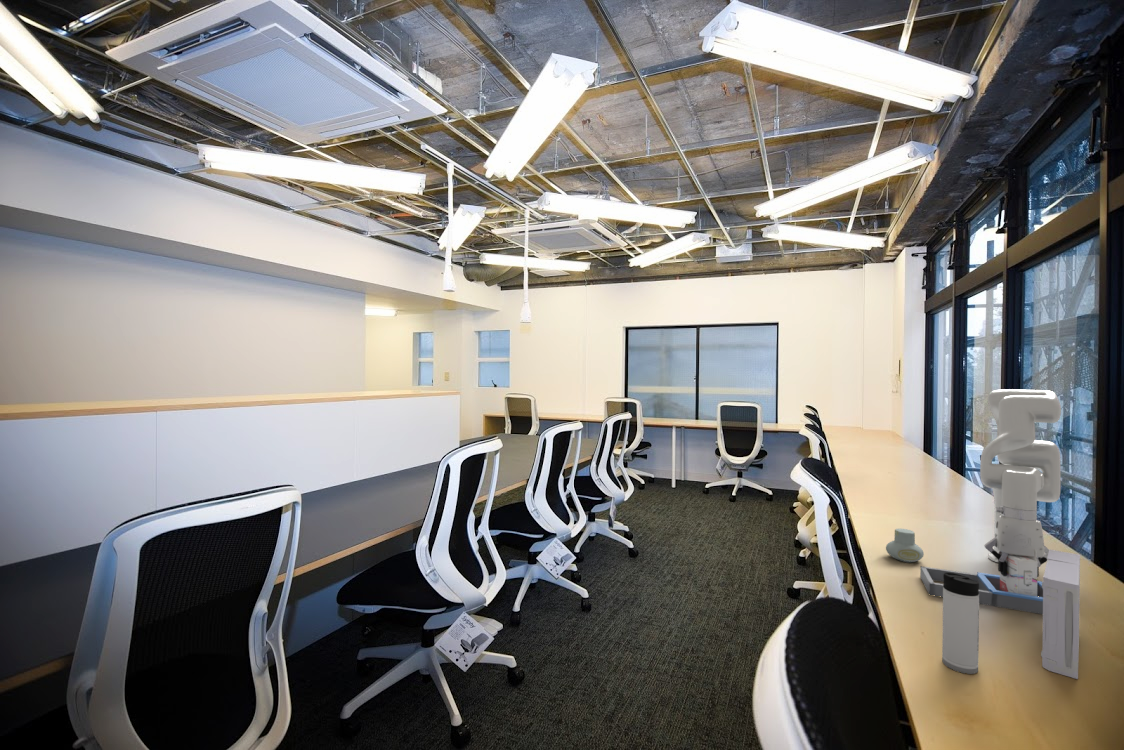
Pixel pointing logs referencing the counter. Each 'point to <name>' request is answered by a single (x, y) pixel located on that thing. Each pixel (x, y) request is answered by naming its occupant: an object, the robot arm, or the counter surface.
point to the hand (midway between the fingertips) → (1017, 576)
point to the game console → (1061, 613)
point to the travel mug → (960, 623)
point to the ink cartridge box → (1020, 575)
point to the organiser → (986, 590)
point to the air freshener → (904, 546)
